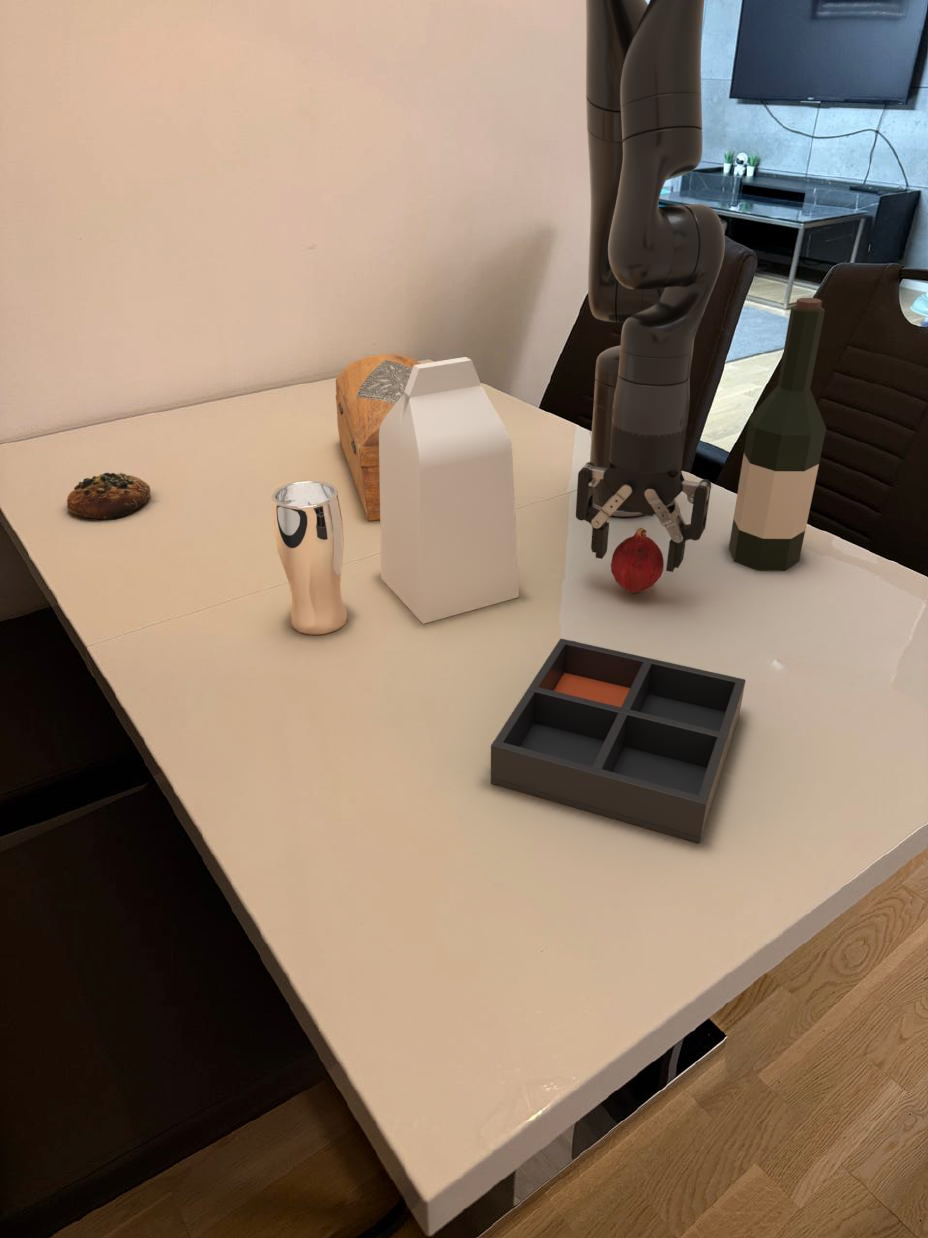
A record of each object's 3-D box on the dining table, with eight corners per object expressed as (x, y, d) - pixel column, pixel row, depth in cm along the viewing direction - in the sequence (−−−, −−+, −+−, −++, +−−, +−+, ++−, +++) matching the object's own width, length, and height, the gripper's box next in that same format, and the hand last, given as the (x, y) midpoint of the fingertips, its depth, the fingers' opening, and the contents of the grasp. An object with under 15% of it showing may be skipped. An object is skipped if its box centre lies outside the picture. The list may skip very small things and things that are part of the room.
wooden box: (483, 510, 123) (483, 410, 116) (361, 522, 120) (353, 421, 113) (440, 433, 148) (438, 347, 141) (338, 442, 145) (331, 355, 138)
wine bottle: (803, 547, 113) (855, 295, 97) (794, 577, 107) (847, 312, 91) (735, 534, 116) (774, 288, 100) (721, 563, 110) (761, 305, 94)
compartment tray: (558, 672, 91) (560, 637, 89) (739, 715, 85) (745, 679, 82) (490, 783, 77) (490, 745, 75) (699, 843, 71) (706, 804, 69)
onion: (659, 608, 101) (667, 543, 97) (607, 603, 102) (612, 539, 98) (660, 583, 106) (668, 520, 102) (610, 578, 107) (615, 516, 103)
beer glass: (289, 605, 103) (273, 481, 95) (352, 602, 103) (340, 478, 95) (284, 639, 97) (266, 509, 89) (350, 635, 97) (338, 506, 89)
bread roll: (98, 527, 120) (88, 490, 118) (53, 516, 126) (43, 481, 124) (169, 501, 127) (160, 466, 125) (123, 493, 134) (115, 459, 132)
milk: (423, 623, 99) (412, 387, 85) (381, 578, 108) (365, 357, 94) (518, 596, 104) (523, 368, 90) (471, 555, 112) (469, 341, 99)
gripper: (727, 417, 94) (707, 559, 102) (593, 399, 99) (584, 537, 107) (712, 441, 88) (692, 590, 96) (570, 421, 93) (563, 564, 101)
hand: (635, 561), depth 102 cm, fingers open, 7 cm apart
